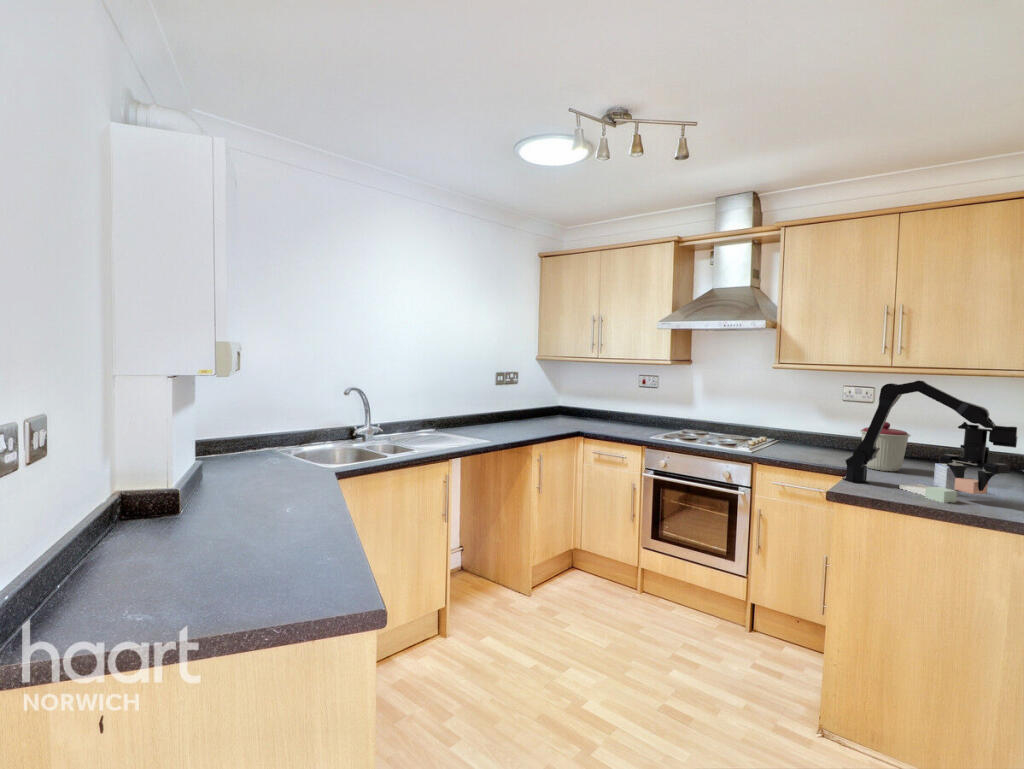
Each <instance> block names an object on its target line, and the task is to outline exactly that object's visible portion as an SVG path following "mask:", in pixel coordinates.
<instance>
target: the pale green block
mask: <svg viewBox="0 0 1024 769" xmlns="http://www.w3.org/2000/svg"><path fill="white" fill-rule="evenodd" d="M957 496H958V491H955V490H950V489H946V488H942V487H938V486H929V487H926V491H925V496H924V499H926V498H928V499H927V500H930V499H931V501H934V500H935V502H938V501H939V502H938V503H942V502H943V504H949V503H948V502H951V503H957Z"/></svg>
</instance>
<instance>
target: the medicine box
mask: <svg viewBox="0 0 1024 769" xmlns="http://www.w3.org/2000/svg"><path fill="white" fill-rule="evenodd" d="M947 464H948V463H934V473H933V474H934V475H933V486H934V487H942V488H946V489H950V490H955V476H954V474H953V472H952V471H951V469H950V467H949V466H947ZM958 491H959V490H957V492H958Z"/></svg>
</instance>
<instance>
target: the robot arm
mask: <svg viewBox="0 0 1024 769" xmlns="http://www.w3.org/2000/svg"><path fill="white" fill-rule="evenodd" d="M879 392H880V393H879V397H878V406H877V408H876V410H875V413H874V415H873V418H872V419H871V422H870V424H869V425H868V426H869V428H868V427H867V428H868V431H867V433H866V435H865V438H864V439H863V441H862V440H861V442H860V443H859V444H858V445H857V446H856V448H855V450H854V451H853V453H852V456H850V457H848V458H847V459H845V464H846V470H845V471H846V472H845V477H842V480H844V479H846V480H845V481H848V482H850V483H854V484H866V483H867V484H870V481H869V480H867V476H868V469H867V468H868V467H867V466H865V465H867V463H868V462H869V461H872V460H873V459H874V458H876V455H877V452H878V451H879V450H880V448H877V447H876V442H877V440H878V437H879V435H880V433H881V431H882V428H883V426H884V424H885V422H887V419H888V417H889V415H890V412H891V410H892V409H893V407H894V406H895V405H896V403H897V402H898V401H899V399H900V398H901V397H902V395H905V394H906V395H907V394H911V393H912V394H913V393H917V392H918V393H920V394H922V395H925V396H926V397H927V398H930V399H932V400H935V402H938V403H940V404H942V405H944V406H946V407H948V408H950V409H951V410H954V412H956V413H957V414H958V415H959V416H961V417H962V418H964V419H965V420H966V421H968V422H969V423H971V424H968V422H966V421H963V422H962V423H961V425H959V426H957V428H958V429H961V430H964V434H963V435H964V438H963V444H960V449H962V455H959V454H958V455H957V454H949V453H947V454H943V453H942V454H941V455H940V456H938V457H939V459H938V460H939V461H938V462H939V463H941V464H947V466H949V467H950V469H951V471H952V472H953V474H954V476H955V478H965V471H966V469H967V468H968V466H971V467H975V468H980V469H982V470H977V480H978V487H979V491H983V489H984V488H985V486H986V485H987V483H988V484H989V481H990V480H991V479H992V478H993V477H994V476H995V475H1000V474H1010V472H1011V468H1010V466H1009V464H1007V463H1006V464H1005V463H1000V462H998V461H999V458H1000V456H999V455H996V454H994V453H992V452H991V451H990V448H989V446H987V437H988V442H990V443H992V446H998V447H1004V448H1006V447H1007V448H1015V449H1016V448H1017V446H1018V438H1019V437H1018V427H1017V426H1002V425H996V424H995V422H993V419H991V418H990V413H989V410H988V409H987V408H986V407H983V406H982V405H981V406H980V405H977V404H975V403H972V402H968V401H965V400H961V399H959V398H957V397H956V396H953V395H951V394H949V393H947V392H945V391H943V390H941V389H939V388H937V387H935V386H932V385H931V384H928V383H927V382H926V381H925V380H915V381H911V382H907V383H901V384H898V383H894V382H893V383H886V384H883V385H882V387H881V389H880V391H879ZM980 426H982V427H983V428H981V427H980ZM988 432H989V434H988Z"/></svg>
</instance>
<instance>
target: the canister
mask: <svg viewBox="0 0 1024 769" xmlns="http://www.w3.org/2000/svg"><path fill="white" fill-rule="evenodd" d="M890 427H891V423H890V422H887V421H886V422H885V424H884V426H883V428H882V431H881V433H880V435H879V437H878V440H877V442H876V447H877V448H880V450H879V451H878V452H877V455H876V458H874V459H873V460H872V461H869V462H868V463H867V465H865V466H867V468H868V469H870V470H874V469H875V471H879V470H880V472H888V471H890V473H891V472H899V471H900V470H901V468H902V467H903V463H904V458H905V453H906V450H907V449H906V448H907V446H908V440H909V437H911V434H909V433H908V432H907V431H906V430H905V431H904V430H901V429H896V428H895V429H894V428H890ZM868 428H869V427H863V429H859V432H860V433H861V442H862V441H863V439H864V438H865V435H866V433H867V431H868Z"/></svg>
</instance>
